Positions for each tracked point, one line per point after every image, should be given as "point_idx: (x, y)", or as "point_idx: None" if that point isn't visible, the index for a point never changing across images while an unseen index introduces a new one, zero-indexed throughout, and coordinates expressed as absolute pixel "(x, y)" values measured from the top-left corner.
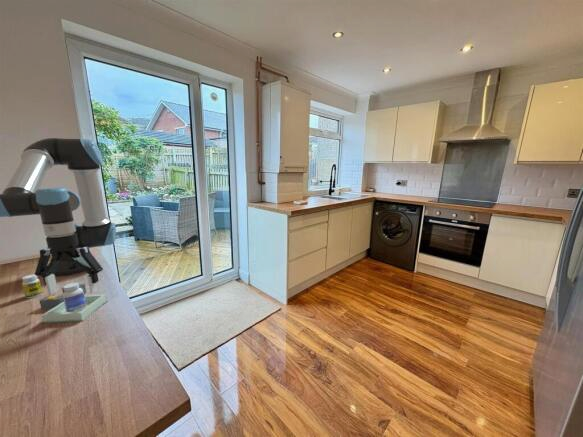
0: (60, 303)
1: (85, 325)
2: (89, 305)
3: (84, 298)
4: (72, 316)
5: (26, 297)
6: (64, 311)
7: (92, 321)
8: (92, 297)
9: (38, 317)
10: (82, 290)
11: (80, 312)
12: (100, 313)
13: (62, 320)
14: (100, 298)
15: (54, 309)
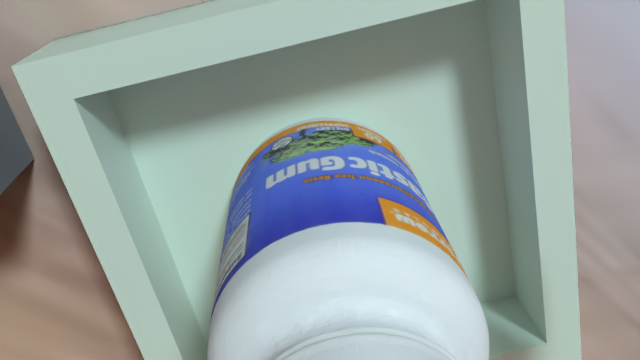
0: (6, 187)
1: (616, 337)
2: (552, 236)
3: (426, 202)
4: None
5: None
6: (203, 241)
7: (636, 288)
8: (365, 21)
9: (11, 330)
10: (466, 283)
11: (566, 354)
12: (618, 175)
13: None
14: (566, 67)
15: (185, 357)
